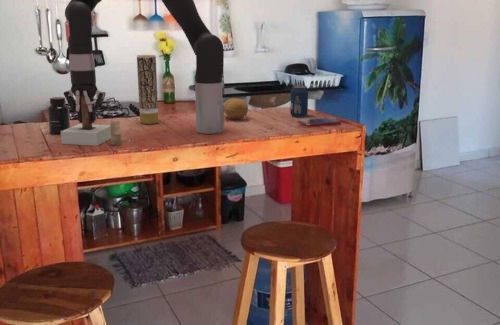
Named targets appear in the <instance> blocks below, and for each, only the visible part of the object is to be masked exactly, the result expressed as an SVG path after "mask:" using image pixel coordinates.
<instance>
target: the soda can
mask: <svg viewBox="0 0 500 325" xmlns="http://www.w3.org/2000/svg"><path fill="white" fill-rule="evenodd" d="M308 110H309V88H308V87H307V86H306V85H292V88H291V90H290V110H289V113H290V115H291V117H292V118H300V119H301V118H306V117H307V115H308Z"/></svg>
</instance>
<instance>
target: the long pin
mask: <svg viewBox="0 0 500 325" xmlns="http://www.w3.org/2000/svg"><path fill="white" fill-rule="evenodd" d="M80 104H81V115H82V123H81V124H82V127H83V130H92V125H93V123H89V109H88V105H87V104H86V100H85V96H81V95H80Z"/></svg>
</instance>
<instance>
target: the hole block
mask: <svg viewBox="0 0 500 325" xmlns="http://www.w3.org/2000/svg"><path fill="white" fill-rule="evenodd" d="M60 132H61V134H60V138H61V145H76V146H77V145H79V146H96V147H97V146H99V145H101V144H103V143H105V142H107V141H109V140H111V128H110V124H92V130H83V127H82V123H78V124H76V125H73V126H70V128H68V129H65V130H63V131H60Z"/></svg>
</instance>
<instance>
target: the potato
mask: <svg viewBox="0 0 500 325" xmlns="http://www.w3.org/2000/svg"><path fill="white" fill-rule="evenodd" d="M223 104H224V114H225V115H226V116H227V117H228V118H231V119H234V120H238V119H239V120H241V119H243V118H244V117H246V116H247V115H248V111H249V105H248V103H247V102H246V101H245V100H244V99H242V98H236V97H234V98H233V97H231V98H229V99H227V100H226V101H225V102H224V103H223Z"/></svg>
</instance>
